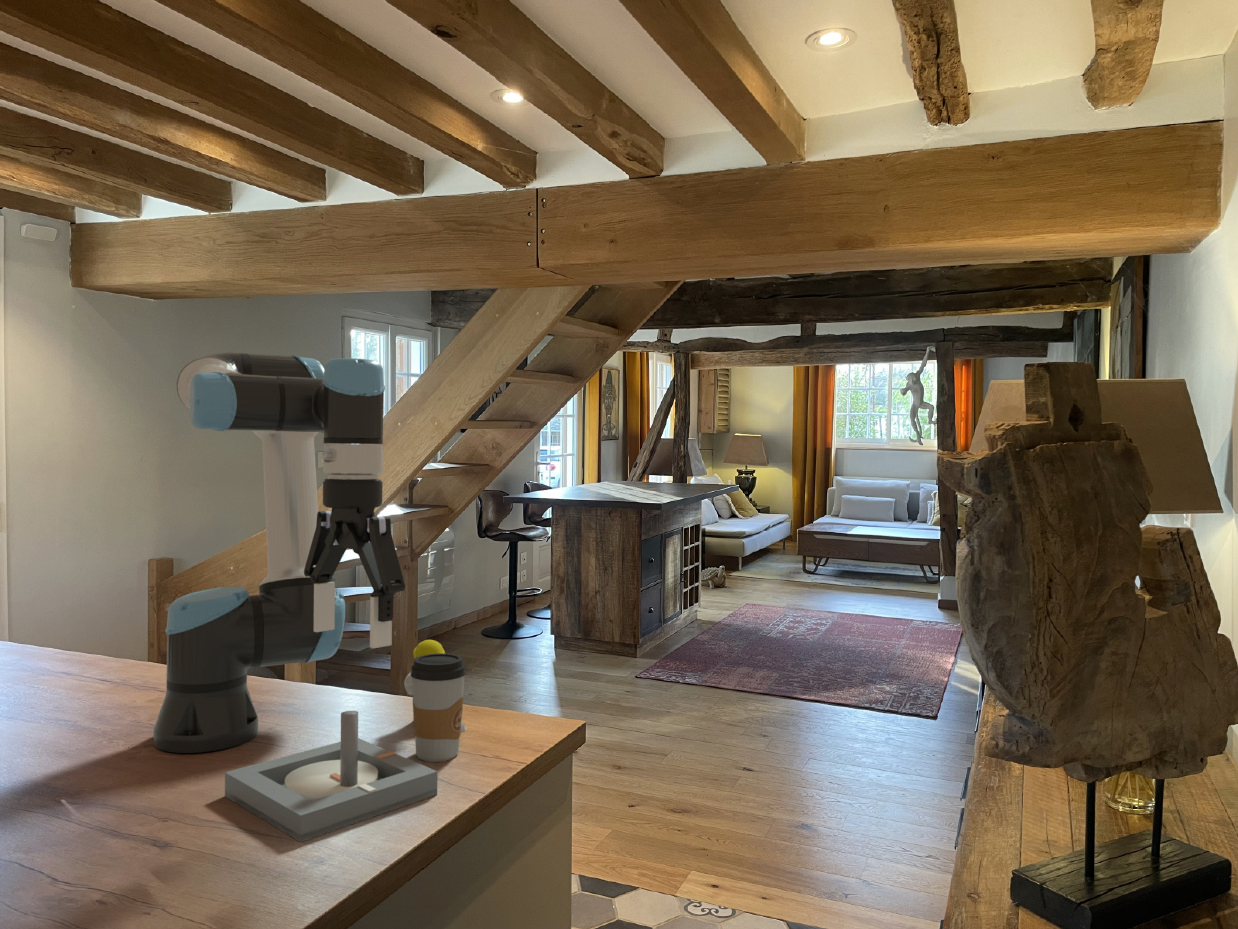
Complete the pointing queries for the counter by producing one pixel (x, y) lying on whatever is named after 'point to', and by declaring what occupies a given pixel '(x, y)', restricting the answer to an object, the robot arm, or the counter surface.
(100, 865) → the counter surface
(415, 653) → the figurine
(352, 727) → the dial
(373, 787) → the dial board
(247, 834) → the counter surface
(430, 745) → the coffee cup
